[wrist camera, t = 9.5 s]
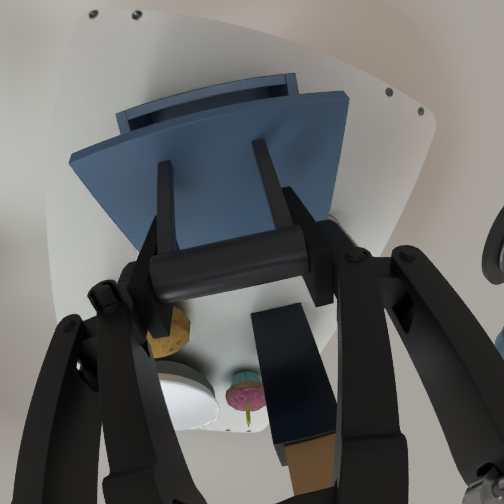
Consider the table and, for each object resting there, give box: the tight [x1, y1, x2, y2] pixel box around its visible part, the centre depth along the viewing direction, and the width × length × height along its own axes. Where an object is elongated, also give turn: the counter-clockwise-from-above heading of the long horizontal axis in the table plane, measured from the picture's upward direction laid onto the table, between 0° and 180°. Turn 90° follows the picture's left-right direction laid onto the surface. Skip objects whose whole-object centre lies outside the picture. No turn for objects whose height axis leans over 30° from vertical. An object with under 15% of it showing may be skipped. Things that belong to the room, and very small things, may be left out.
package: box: [284, 433, 336, 496], centre depth 24 cm, size 6×8×12 cm
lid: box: [69, 91, 349, 304], centre depth 19 cm, size 18×15×8 cm
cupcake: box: [226, 371, 266, 427], centre depth 49 cm, size 9×8×12 cm
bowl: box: [155, 361, 220, 430], centre depth 48 cm, size 19×19×8 cm
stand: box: [251, 303, 337, 466], centre depth 39 cm, size 8×10×22 cm
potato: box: [146, 306, 190, 358], centre depth 39 cm, size 10×13×9 cm
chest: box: [116, 73, 299, 135], centre depth 29 cm, size 17×15×10 cm
